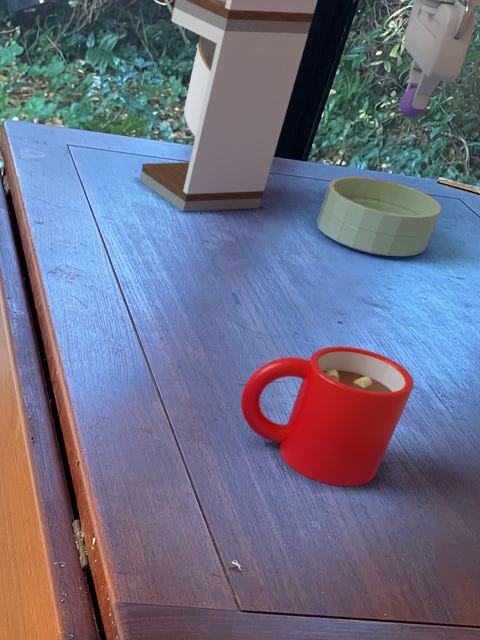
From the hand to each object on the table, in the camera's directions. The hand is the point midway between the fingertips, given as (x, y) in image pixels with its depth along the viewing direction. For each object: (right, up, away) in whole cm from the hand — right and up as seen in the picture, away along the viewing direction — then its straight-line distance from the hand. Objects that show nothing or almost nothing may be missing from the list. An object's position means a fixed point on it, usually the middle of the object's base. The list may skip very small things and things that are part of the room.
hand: (414, 103), depth 135 cm
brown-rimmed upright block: (-31, -16, -8) cm, 36 cm away
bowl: (-11, -24, -14) cm, 30 cm away
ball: (0, 0, 0) cm, 0 cm away
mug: (-32, -58, -54) cm, 85 cm away
